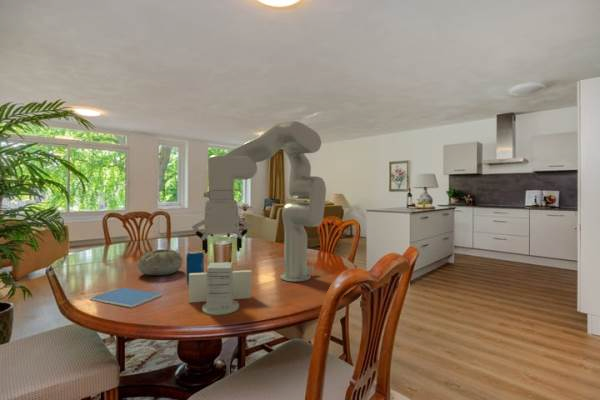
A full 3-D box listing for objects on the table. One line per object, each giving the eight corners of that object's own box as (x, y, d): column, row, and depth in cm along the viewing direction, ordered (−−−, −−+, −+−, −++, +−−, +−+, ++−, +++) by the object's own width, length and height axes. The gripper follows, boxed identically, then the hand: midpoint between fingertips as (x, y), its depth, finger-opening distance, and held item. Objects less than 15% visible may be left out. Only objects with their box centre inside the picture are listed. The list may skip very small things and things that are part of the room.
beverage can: (198, 285, 119) (198, 253, 118) (183, 283, 120) (183, 253, 120) (206, 280, 125) (206, 250, 125) (192, 279, 126) (192, 250, 126)
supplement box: (209, 301, 99) (209, 262, 98) (233, 300, 100) (233, 261, 99) (205, 310, 91) (205, 268, 91) (231, 309, 92) (231, 267, 92)
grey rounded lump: (171, 279, 125) (171, 255, 125) (128, 279, 126) (128, 254, 125) (188, 268, 143) (188, 247, 143) (150, 268, 144) (150, 246, 143)
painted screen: (188, 302, 100) (188, 274, 100) (189, 300, 102) (189, 273, 102) (251, 297, 105) (251, 271, 105) (250, 296, 107) (250, 270, 107)
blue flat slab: (88, 301, 102) (88, 297, 102) (122, 290, 113) (122, 286, 113) (131, 310, 95) (131, 306, 95) (163, 297, 106) (163, 293, 106)
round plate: (226, 299, 103) (226, 296, 103) (246, 308, 96) (246, 305, 96) (195, 307, 96) (195, 305, 96) (213, 318, 88) (213, 315, 88)
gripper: (190, 197, 89) (191, 256, 90) (250, 196, 93) (251, 252, 94) (192, 196, 96) (194, 250, 97) (248, 195, 100) (249, 247, 101)
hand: (222, 251), depth 96 cm, fingers open, 9 cm apart
